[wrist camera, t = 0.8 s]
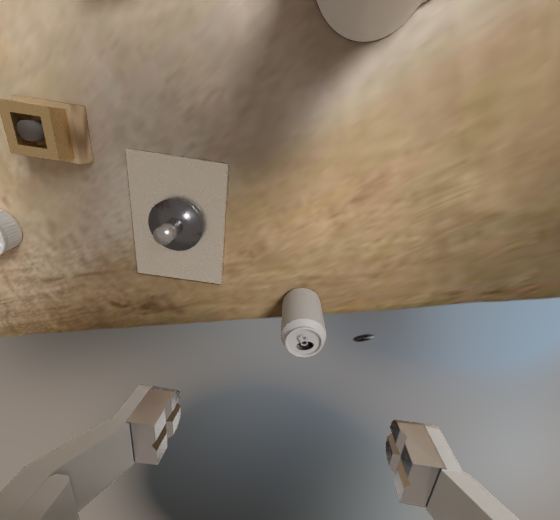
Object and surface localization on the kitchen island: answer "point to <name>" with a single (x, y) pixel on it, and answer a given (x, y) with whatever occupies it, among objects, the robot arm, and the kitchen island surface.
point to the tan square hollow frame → (52, 127)
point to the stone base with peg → (178, 215)
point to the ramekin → (9, 232)
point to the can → (302, 323)
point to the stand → (77, 127)
